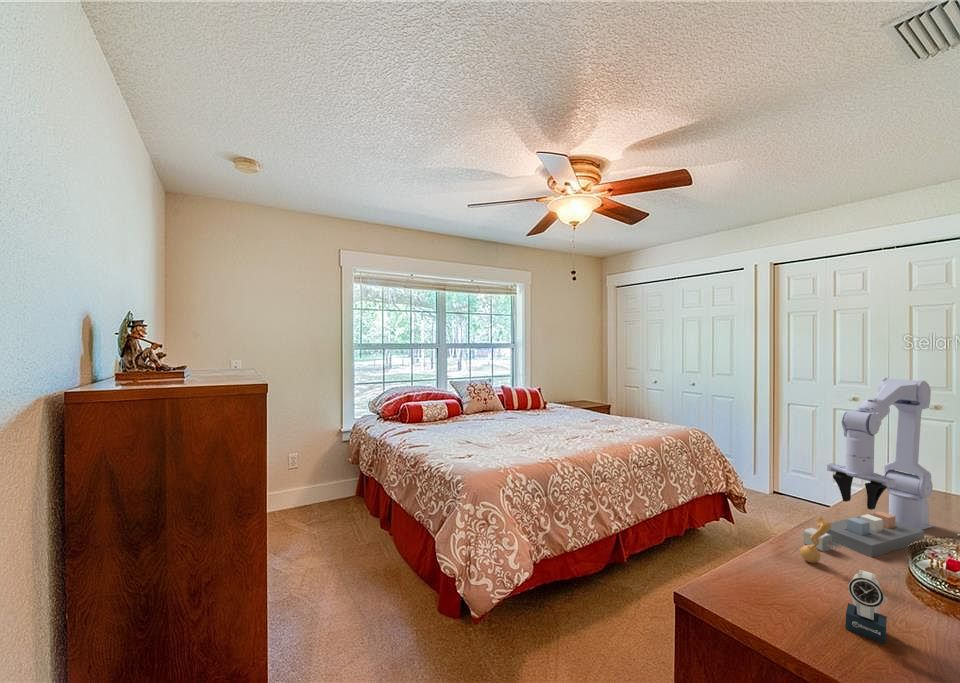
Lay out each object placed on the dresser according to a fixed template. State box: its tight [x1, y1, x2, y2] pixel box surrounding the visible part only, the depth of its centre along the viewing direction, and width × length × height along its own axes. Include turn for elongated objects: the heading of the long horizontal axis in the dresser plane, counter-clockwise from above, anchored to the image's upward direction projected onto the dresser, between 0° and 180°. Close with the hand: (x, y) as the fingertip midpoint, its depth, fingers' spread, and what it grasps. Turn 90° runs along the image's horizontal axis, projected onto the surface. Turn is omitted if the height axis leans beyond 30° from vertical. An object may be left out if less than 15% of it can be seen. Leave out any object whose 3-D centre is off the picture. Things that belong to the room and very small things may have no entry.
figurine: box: [799, 516, 831, 564], centre depth 104 cm, size 8×6×12 cm
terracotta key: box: [872, 510, 896, 529], centre depth 119 cm, size 3×3×4 cm
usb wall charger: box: [803, 527, 842, 552], centre depth 111 cm, size 4×7×4 cm, turn 23°
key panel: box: [825, 513, 925, 558], centre depth 117 cm, size 24×12×3 cm, turn 111°
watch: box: [845, 569, 888, 645], centre depth 80 cm, size 6×8×11 cm
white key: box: [859, 513, 883, 533], centre depth 117 cm, size 3×3×4 cm
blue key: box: [846, 516, 870, 536], centre depth 115 cm, size 3×3×4 cm
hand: (858, 504), depth 114 cm, fingers open, 5 cm apart
